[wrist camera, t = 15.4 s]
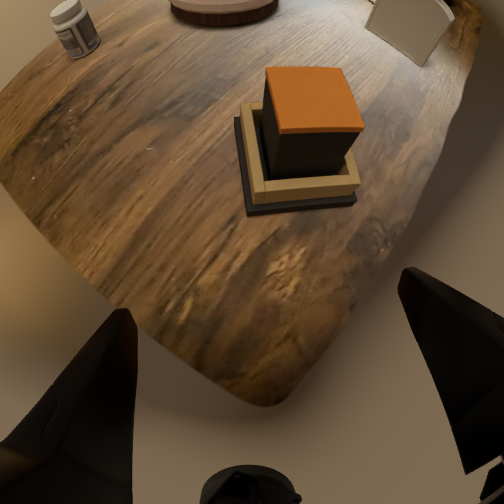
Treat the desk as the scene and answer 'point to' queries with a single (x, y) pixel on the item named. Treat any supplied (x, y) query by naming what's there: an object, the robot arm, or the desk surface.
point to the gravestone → (411, 25)
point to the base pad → (287, 190)
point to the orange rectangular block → (307, 121)
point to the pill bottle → (75, 28)
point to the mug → (222, 11)
